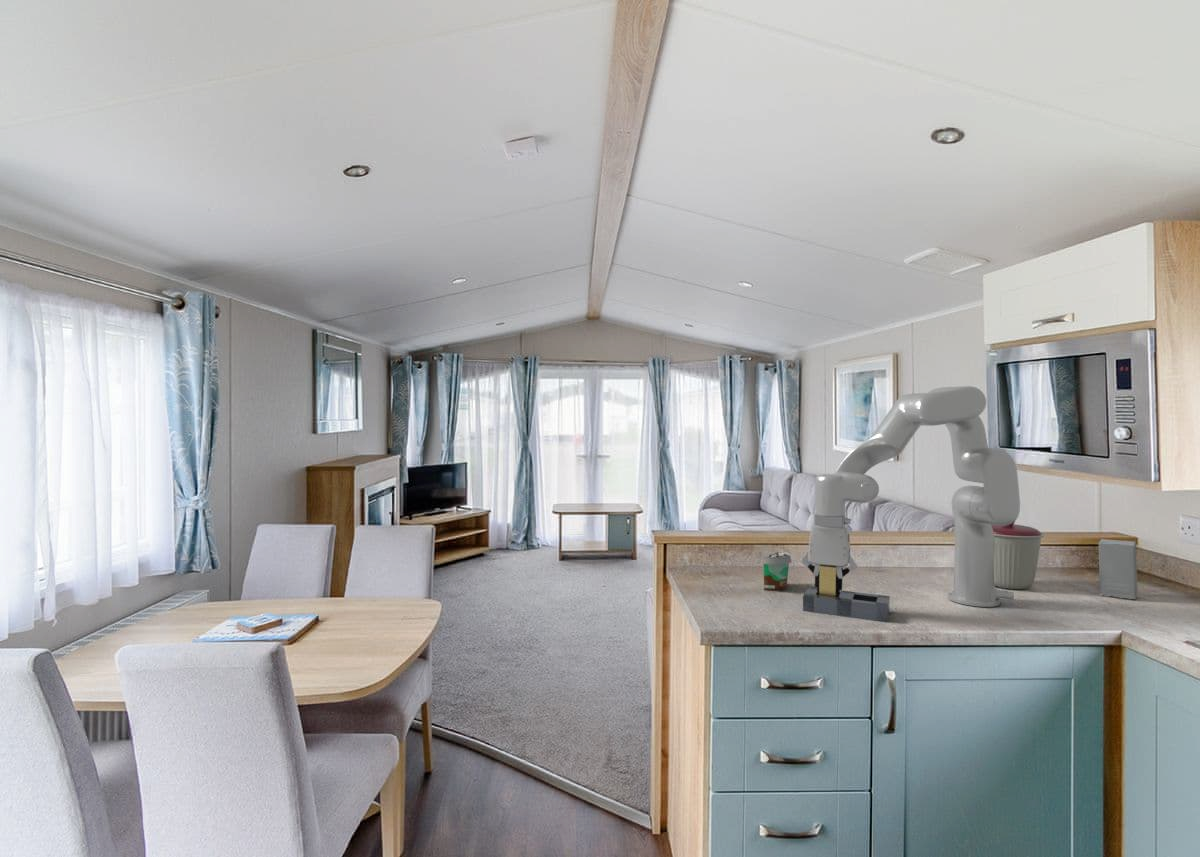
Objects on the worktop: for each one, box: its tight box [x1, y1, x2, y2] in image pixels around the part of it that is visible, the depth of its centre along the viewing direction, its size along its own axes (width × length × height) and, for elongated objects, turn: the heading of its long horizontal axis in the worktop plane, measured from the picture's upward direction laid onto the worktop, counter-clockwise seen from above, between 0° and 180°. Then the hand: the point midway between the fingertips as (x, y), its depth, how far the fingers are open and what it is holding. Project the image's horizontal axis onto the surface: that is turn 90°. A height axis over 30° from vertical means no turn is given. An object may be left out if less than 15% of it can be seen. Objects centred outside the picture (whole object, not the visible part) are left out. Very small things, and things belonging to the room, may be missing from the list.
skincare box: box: [1098, 538, 1138, 600], centre depth 188 cm, size 8×7×16 cm
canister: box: [991, 521, 1045, 590], centre depth 199 cm, size 18×18×21 cm
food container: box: [762, 549, 792, 592], centre depth 193 cm, size 12×6×10 cm, turn 148°
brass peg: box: [819, 565, 837, 597], centre depth 173 cm, size 4×4×9 cm
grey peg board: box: [802, 586, 891, 623], centre depth 171 cm, size 20×10×4 cm, turn 63°
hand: (828, 590), depth 173 cm, fingers closed on brass peg, 3 cm apart
